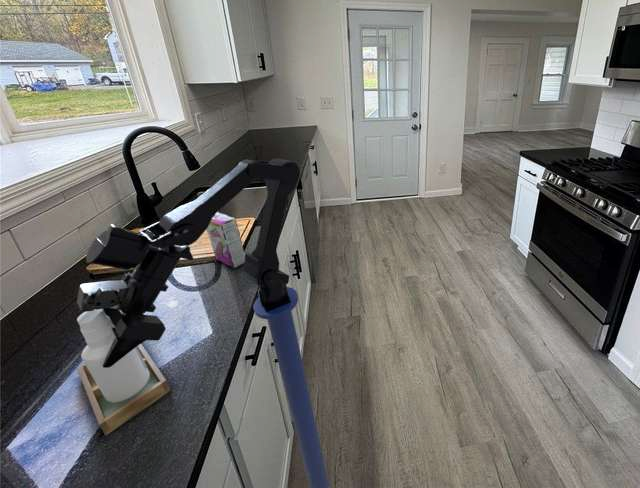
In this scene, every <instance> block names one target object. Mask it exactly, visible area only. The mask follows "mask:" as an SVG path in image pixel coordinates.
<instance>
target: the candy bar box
mask: <svg viewBox="0 0 640 488" xmlns="http://www.w3.org/2000/svg"><path fill="white" fill-rule="evenodd" d="M206 232H207V235H208V238H209V242H210V245H211V247H212V250H213V253H214V257H215V259H216V260H217V261H218V262H221V263H223V264H224V265H227V266H228V267H230V268H232V269H236V268H238V267H240V266H243V265H244V262H245V255H246V252H245V249H244V244H243V241H242V238H241V234H240V230H239V227H238V223H237V220H236V218H235V217H233V216H230V215H227V214H226V213H223V212H219V211H218V212H217V213H216V214H215V215H214V216H213V218H212V220H211V222H210V224H209V226H208V228H207V229H206Z"/></svg>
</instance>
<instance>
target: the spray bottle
mask: <svg viewBox="0 0 640 488" xmlns="http://www.w3.org/2000/svg"><path fill="white" fill-rule="evenodd" d="M76 322H77V324H78V325H79V328H80V332H81V334H82V336H83V338H84V341H85V343H86V346H85V347H84V348H83V350H82V352H81V354H80V357H81V360H82V362H83V364H84V363H85V365H86V367H87V368H88V370H89V372H90V373H91V375H92V377H93V379H94V380H95V382H96V384H97V385H98V387H99V389H100V390H101V392H102V394H103V395H104V397H105V399H106V400H107V401H109V402H114V403H117V402H120V401H124V400H126V399H128V398H130V397H132V396H133V395H135V394H136V393H138V392H139V391H140V390H141V389H142V388H143V387H144V386H145V385H146V384H147V382H148V380H149V376H150V373H149V371H148V369H147V367H146V365H145V363H144V360H143V358H142V356H141V354H140V352H139V350H138V348H137V347H136V348H134V349H133V350H132V351H130V352H129V353H128V354H126V355H125V356H124V357H123V358H121V359H120V360H119V361H117V362H116V363H115V364H114V365H112V366H111V367H109V368H103V363H104V361H105V358H106V356H107V354H108V352H109V350H110V347H111V345H112V343H113V341H114V339H115V336H114V334H113V332H112V330H111V328H115V326H114V325H113V323H112V321H111V319H110V317H109V316H107V315H106V314H105V312H104V310H103V309H98V310H96V309H95V310H93V311H88V312H84V311H83V312H82V313H81V314H80V315H79V316H78V317H77V318H76Z"/></svg>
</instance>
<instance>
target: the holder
mask: <svg viewBox="0 0 640 488" xmlns="http://www.w3.org/2000/svg"><path fill="white" fill-rule="evenodd" d="M137 348H138V350H139V352H140V354H141V356H142V358H143V360H144V363H145V365H146V367H147V369H148V371H149V373H150V376H149V380H148V382H147V384H146V385H145V386H144V387H143V388H142V389H141V390H140V391H139V392H138V393H136V394H135V395H133V396H132V397H130V398H128V399H126V400H124V401H120V402H117V403H114V402H109V401H107V400H106V399H105V397H104V395H103V394H102V392H101V390H100V389H99V387H98V385H97V384H96V382H95V380H94V379H93V377H92V375H91V373H90V372H89V370H88V368H87V367H86V365H85V363H84V362H83V363H82V364H80V365H78V366H76V371H77V373H78V375H79V377H80V381H81V382H82V385H83V388H84V391H85V393H86V395H87V398H88V400H89V403H90V406H91V408H92V410H93V413H94V415H95V418H96V420H97V424H98V426H99V427H100V429H101V430H102V432H103V434H104V435H105V436H106V437H107V435H110V434H111V433H112V432H114V431H115V430H116V429H117V428H119V427H121V426H122V425H123V424H124V423H126V422H127V421H129V420H131V419H132V418H133V417H135V416H136V415H138V414H139V413H141V412H142V411H143V410H145V409H146V408H148V407H149V406H150V405H152V404H153V403H155V402H157V401H158V400H160V399H161V398H162V397H164V396H165V395H167V394H169V392H171V390H172V389H171V387H170V385H169V383H168V380H167V379H166V378H165V376H164V375H163V373H162V372H161V370H160V369H159V367H158V366H157V364H156V362H155V361H154V360H153V359H152V356H151V355H150V354H149V352H148V351H147V350H146V348H145V347H144V346H143V343H141V344H140V345H138V346H137Z"/></svg>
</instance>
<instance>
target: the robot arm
mask: <svg viewBox="0 0 640 488" xmlns="http://www.w3.org/2000/svg"><path fill="white" fill-rule="evenodd" d="M300 177H301V169H300V167H299V165H298V164H297V163H296V162H293V161H290V160H286V159H281V158H273V159H270V161H267V160H266V161H265V160H252V159H243V160H241V161H240V162H239V163H238V164H237V165H236V166H235V167H234V168H233V169H232V170H231V171H230V172H228V173H226V175H224V176H223V177H222V178H221V179H220V180H219V181H217V182H216V183H215V184H214V185H212V186H211V187H210V188H209V189H207V190H206V191H205V192H204V193H202V194H201V195H200V196H198V197H197V198H196V199H194V200H193V201H190V202H188V203H185V204H183V205H180V206H178V207H176V208H175V209H173V210H171V211H170V212H167V213H166V214H164V215H163V216H162V217H161V218H160V220H159V221H158V222H155V223H153V224H151V225H149V226H147V227H145V228H143V229H140V230H138V232H136V231H132V230H129V229H125V228H123V227H122V226H120V225H116V224H110V226H109V227H108V229H107V230H105V231H103V232H102V233H100V235H99V236H97V237H95V238H94V240H93V242H92V243H91V244H90V246H89V248H88V250H87V253H86V256H85V262H86V263H89V264H94V265H99V266H103V267H108V268H113V269H115V268H116V269H118V270H119V269H120V270H124V271H127V270H130V269H131V268H132V269H134V270H133V272H130V271H129V272H127V273H124V274H123V276H122V277H121V279H120V280H104V281H95V282H93V281H92V282H86V283H81V284H80V285H79V288H78V293H77V299H76V305H77V306H78V307H79V310H80V311H81V312H83V313H84V312H88V311H93V310H95V309H96V310H98V309H103V310H104V312H105V314H106V315H107V316H109V317H110V319H111V321H112V323H113V325H114V326H115V328H111V330H112V332H113V334H114V336H115V339H114V341H113V343H112V345H111V347H110V350H109V352H108V354H107V356H106V358H105V361H104V363H103V368H109V367H111V366H112V365H114V364H115V363H116V362H117V361H119V360H120V359H121V358H123V357H124V356H125V355H126V354H128V353H129V352H130V351H132V350H133V349H134V348H136V347H137V346H138V345H140V344H143V343H145V341H155V342H156V341H157V342H158V341H160V340H161V338H162V337H163V335H164V333H165V332H166V330H167V329H166V327H165V324H164V323H163V321H162V320H161V319H160V318H159V316H158V315H153V314H146V313H154V312H155V311H156V309H157V307H156V305H155V304H154V303H155V302H156V300H157V298H158V297H159V295H160V294H161V292H163V293H164V292H167V290H168V289H169V285H168V284H167V282H168V280H169V278H170V277H171V275H172V274H173V272H174V270H175V268H176V267H177V265H178V263H179V262H180V260H181V259H184V260H187V261H192V260H194V256H193V254H192V252H191V247H190V246H191V245H193V244H194V243H196V242H197V241H198V239H200V237H201V236H202V235H203V234H204V233H205V232H206V231H207V228H208V226H209V224H210V222H211V220H212V218H213V216H214V215H215V214H216V213H217V212H219V211H221V210H222V209H223V208H224V207H225V206H227V205H228V203H230V202H231V201H232V200H234V198H236V196H238V195H239V194H240V193H241V192H242V191H244V190H245V189H246V188H247V187H248V186H249V185H250V184H252V183H253V182H254V181H255V180H256V179H264V181H265V182H264V183H265V186H266V190H267V195H266V200H265V204H264V209H263V215H262V219H261V223H260V228H259V233H258V239H257V242H256V246H255V248H254V250H252V252H251V253H248V252H247V253H245V262H244V263H243V264H242V267H241V269H242V270H243V274H244V276H245V277H246V279H248V280H250V281H251V282H252V283H254V284H256V285H258V288H257V290H256V291H257V294H258V297H259V299H260V302H261V305H262V307H264V308H265V311H266V312H269V311H271V310H273V309H276V308H278V307H281V306H283V305H286V304H288V303H290V302H291V300H290V298H289V296H288V291H287V287H288V286H287V285H288V284H289V282H290V275H289V274H287V273H286V272H284V271H283V270H280V260H279V255H278V251H277V249H278V245H279V240H280V235H281V232H282V231H281V230H282V227H283V223H284V222H283V221H284V217H285V211H286V208H287V203H288V198H289V196H290V195H291V194H292V193H293V191H294V190H295V189H296V187H297V185H298V182H299V179H300Z"/></svg>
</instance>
